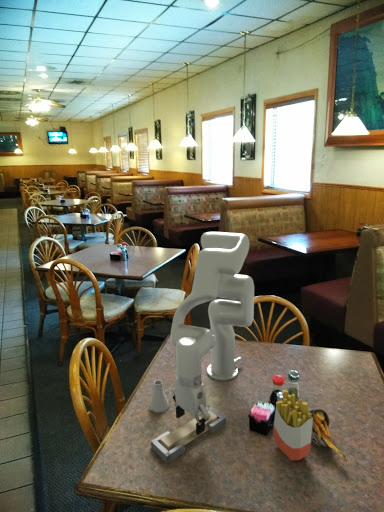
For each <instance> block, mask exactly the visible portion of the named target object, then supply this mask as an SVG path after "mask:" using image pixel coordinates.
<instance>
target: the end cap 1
mask: <svg viewBox="0 0 384 512" xmlns="http://www.w3.org/2000/svg"><path fill="white" fill-rule="evenodd" d="M170 433H171V432H170V431H169V430H167V431H165V432H163V433H162V434H160V435H159V436H157V437H155V438H154V439H152V440H151V441H150V447H151V449H152V450H153V451H154V452H155V453H156V454H157V455H158V456H159V457H160V458H161V459H162V460H163V461H164V463H166V464H170V462H172V461H173V460H175V459H176V458H178V457H179V456H181V455H182V454H184V453H185V445H184V444H182V443H181V444H179V445H178V446H176V447H175V448H173V449H171V450H170V451H168V450H167V449H165V448H164V447H163V446H162V445H161V438H163V437H165V436H166V435H168V434H170Z"/></svg>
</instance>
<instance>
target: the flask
mask: <svg viewBox="0 0 384 512" xmlns="http://www.w3.org/2000/svg"><path fill="white" fill-rule="evenodd" d="M163 384H164V383H163V380H162V379H155V380H154V381H153V385H154V391H153V394H152V397H151V399H150V402H149V411H151V412H154V413H156V414H157V413H165V412H166V411H167V410H168V409H169V408H170V403H169V400H168V398H167V396H166V393H165V391H164V389H163Z"/></svg>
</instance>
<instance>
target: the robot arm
mask: <svg viewBox="0 0 384 512" xmlns="http://www.w3.org/2000/svg"><path fill="white" fill-rule="evenodd" d="M200 244H201V247H202V249H201V250H200V251H199V252H198V255H197V259H196V264H195V271H194V274H193V275H194V276H193V281H192V282H193V283H192V287H191V292H190V294H189V295H187V297H185V298H184V299H183V301H181V303H180V304H179V305H178V307H177V309H176V310H175V312H174V315H173V318H172V324H171V329H170V342H171V345H172V346H173V347H175V367H176V379H175V387H173V388H172V389H171V391H170V392H171V394H172V399H173V401H174V404H173V405H174V407H175V418H176V419H179V418H181V417H183V416H185V414H186V413H188V414H189V415H190V416H192V417H194V419H196V421H197V423H196V434H197V435H199V434H200V433H202V432H203V431H205V422H206V421H208V420H209V418H210V414H209V412H208V411H207V410H206V407H207V398H206V391H205V385H204V383H203V380H202V357H204V356H205V355H207V354H208V353H209V352H210V364H209V365H208V366H207V368H206V372H207V374H208V376H209V377H210V378H211V379H213V380H216V381H223V382H224V381H230V380H233V379H235V378H236V377H237V376H238V374H239V370H238V367H237V364H238V363H240V362H242V361H243V358H242V357H241V356H238V357H236V358H235V350H236V349H235V342H236V341H235V340H236V334H235V330H234V328H233V327H234V326H235V327H241V328H242V327H243V328H248V327H250V326H251V325H252V323H253V321H254V315H255V314H254V313H255V311H254V309H255V307H254V306H255V284H254V280H253V278H252V276H249V275H247V274H240V271H241V270H242V267H243V266H244V262H245V260H246V258H247V256H248V253H249V250H250V239H249V237H248V235H246V234H245V233H240V232H239V233H238V232H224V231H207V232H203V233H202V235H201V237H200ZM207 302H210V303H209V305H208V310H207V313H208V318H209V324H210V325H209V326H210V328H206V327H200V326H195V325H194V326H193V325H187V324H184V323H185V319H186V316H187V314H188V313H189V311H191V310H192V309H193V308H195V307H196V306H198V305H201V304H204V303H207ZM185 412H186V413H185ZM198 415H201V417H202V419H199V417H198Z"/></svg>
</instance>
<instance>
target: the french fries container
mask: <svg viewBox="0 0 384 512" xmlns="http://www.w3.org/2000/svg"><path fill="white" fill-rule="evenodd" d="M275 405H276V406H275V411H274V418H273V419H274V421H273V431H272V432H273V433H272V435H273V439H274V440H275V443H276V444H277V447H278V449H279V450H281V451H282V452H283V453H284V455H286V456H287V457H288V458H289V460H290V459H291V461H300V460H302V459H303V458H305V457H307V456H308V455H310V454H311V446H312V436H311V435H312V423H313V417H312V416H311V413H310V412H309V405H310V404H309V403H308V402H306V401H303V400H302V399H300V398H299V399H298V400H297V401H296V393H295V394H294V393H292V394H289V390H288V389H284V390H282V397H280V398H279V400H278V401H276V402H275Z"/></svg>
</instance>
